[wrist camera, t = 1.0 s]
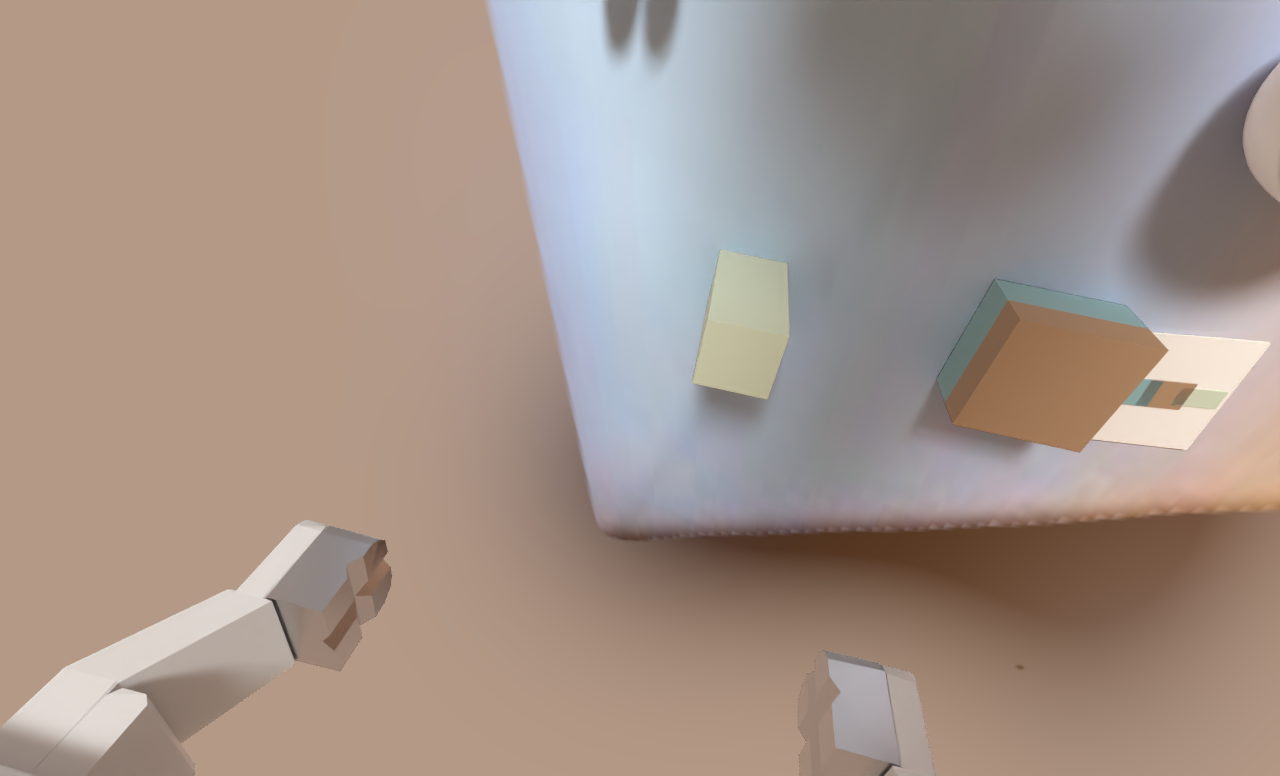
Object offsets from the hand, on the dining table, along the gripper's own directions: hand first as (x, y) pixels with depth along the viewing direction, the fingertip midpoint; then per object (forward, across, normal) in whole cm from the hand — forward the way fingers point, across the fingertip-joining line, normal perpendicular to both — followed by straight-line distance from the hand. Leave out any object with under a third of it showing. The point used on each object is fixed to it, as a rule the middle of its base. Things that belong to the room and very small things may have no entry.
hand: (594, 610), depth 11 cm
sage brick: (+36, -3, +8) cm, 37 cm away
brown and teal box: (+36, -24, +9) cm, 44 cm away
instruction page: (+36, -35, +10) cm, 52 cm away
